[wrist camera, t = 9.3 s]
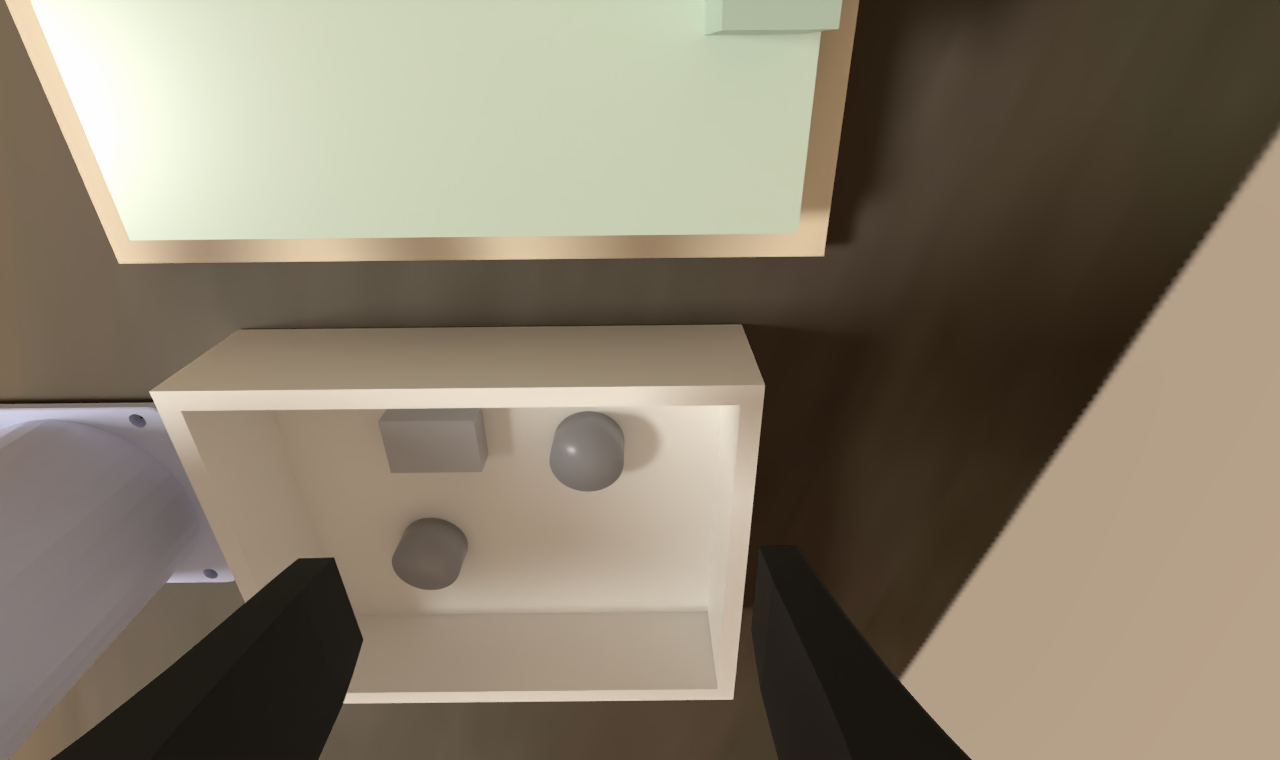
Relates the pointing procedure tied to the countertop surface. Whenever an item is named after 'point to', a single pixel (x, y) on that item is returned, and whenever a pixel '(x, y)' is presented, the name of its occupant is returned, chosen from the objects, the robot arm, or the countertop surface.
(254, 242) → the board
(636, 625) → the tub
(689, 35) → the lid
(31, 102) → the countertop surface
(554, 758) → the countertop surface
